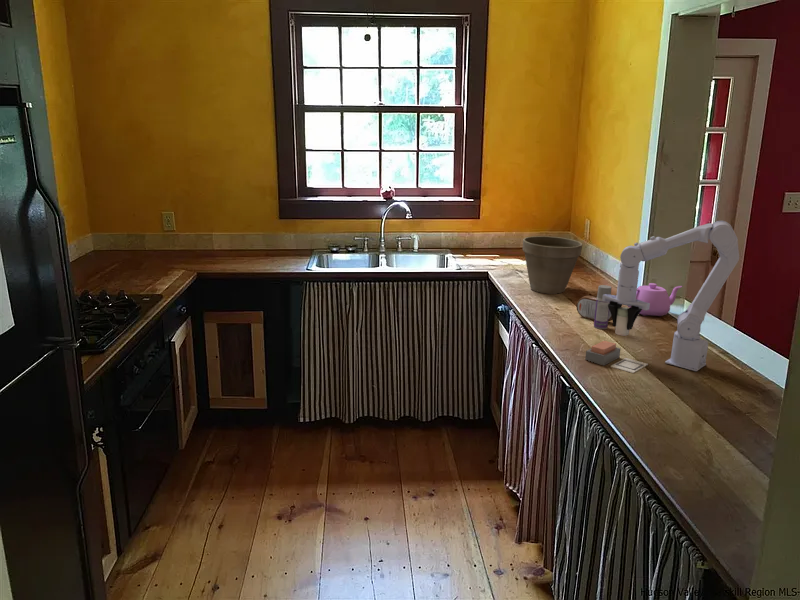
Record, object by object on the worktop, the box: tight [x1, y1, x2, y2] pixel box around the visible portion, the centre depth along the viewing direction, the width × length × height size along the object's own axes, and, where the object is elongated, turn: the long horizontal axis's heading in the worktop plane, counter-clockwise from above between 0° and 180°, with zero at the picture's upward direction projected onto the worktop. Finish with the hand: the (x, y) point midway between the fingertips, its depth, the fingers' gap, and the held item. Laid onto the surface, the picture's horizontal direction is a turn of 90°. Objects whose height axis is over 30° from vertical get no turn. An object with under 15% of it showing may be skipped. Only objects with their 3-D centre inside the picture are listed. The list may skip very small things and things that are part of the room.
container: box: [593, 284, 613, 330], centre depth 228 cm, size 5×5×15 cm
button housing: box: [584, 346, 621, 366], centre depth 199 cm, size 6×10×3 cm, turn 136°
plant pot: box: [522, 235, 583, 295], centre depth 277 cm, size 25×25×22 cm
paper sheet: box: [610, 357, 649, 374], centre depth 194 cm, size 7×10×1 cm
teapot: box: [627, 282, 683, 317], centre depth 248 cm, size 20×13×12 cm, turn 89°
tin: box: [576, 295, 613, 323], centre depth 238 cm, size 15×3×8 cm, turn 47°
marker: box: [614, 306, 630, 336], centre depth 200 cm, size 4×4×8 cm
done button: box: [590, 340, 617, 355], centre depth 198 cm, size 4×8×2 cm, turn 136°
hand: (622, 327), depth 201 cm, fingers closed on marker, 4 cm apart
